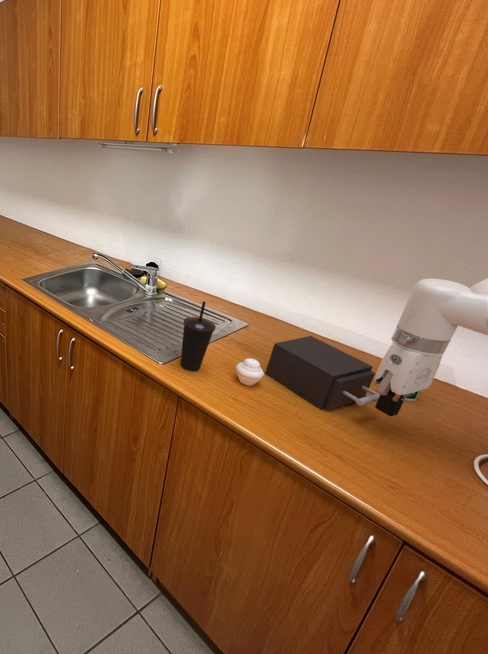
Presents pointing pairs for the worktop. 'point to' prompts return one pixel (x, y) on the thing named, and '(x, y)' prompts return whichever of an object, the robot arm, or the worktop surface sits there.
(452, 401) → the worktop surface
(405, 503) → the worktop surface
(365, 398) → the pull-out drawer
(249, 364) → the muffin
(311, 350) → the drawer box
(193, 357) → the drinking cup
